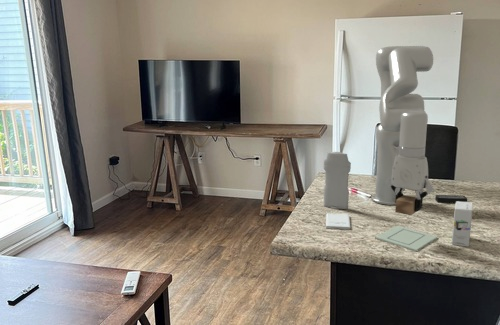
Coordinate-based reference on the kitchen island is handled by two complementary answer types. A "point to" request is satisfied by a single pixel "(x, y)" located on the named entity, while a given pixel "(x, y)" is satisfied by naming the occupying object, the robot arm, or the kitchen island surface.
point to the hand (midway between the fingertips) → (408, 207)
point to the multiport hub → (450, 198)
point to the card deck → (406, 204)
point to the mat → (406, 238)
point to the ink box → (462, 223)
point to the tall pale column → (336, 180)
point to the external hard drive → (337, 221)
